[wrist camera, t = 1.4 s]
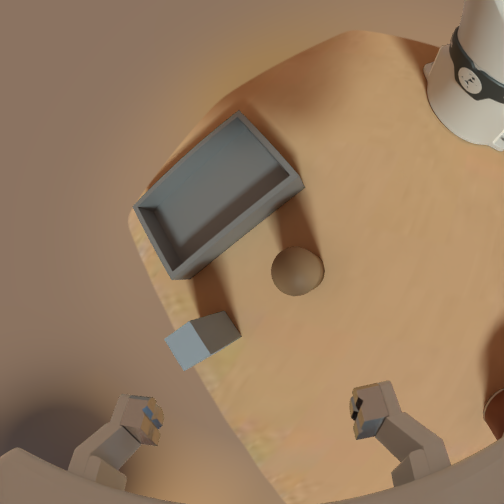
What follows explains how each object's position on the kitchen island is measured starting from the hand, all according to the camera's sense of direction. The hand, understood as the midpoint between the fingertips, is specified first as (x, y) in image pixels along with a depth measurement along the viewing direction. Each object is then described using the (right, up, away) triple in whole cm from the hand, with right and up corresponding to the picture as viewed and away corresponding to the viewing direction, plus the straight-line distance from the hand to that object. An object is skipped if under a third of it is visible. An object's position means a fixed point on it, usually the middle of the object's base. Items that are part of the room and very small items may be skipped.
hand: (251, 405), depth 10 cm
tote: (-5, +14, +32) cm, 35 cm away
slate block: (-4, -6, +30) cm, 31 cm away
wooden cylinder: (+7, +3, +27) cm, 28 cm away
